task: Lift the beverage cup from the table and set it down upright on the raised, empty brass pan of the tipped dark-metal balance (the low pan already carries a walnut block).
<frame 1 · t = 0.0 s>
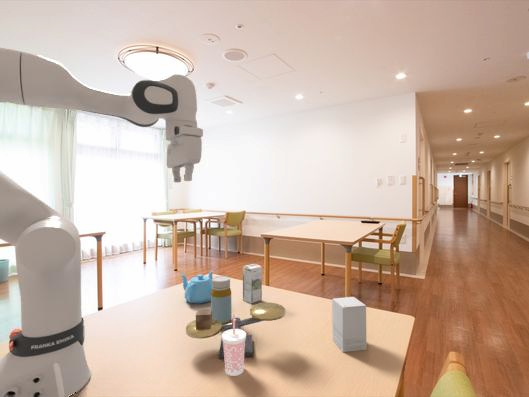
hand: (182, 181, 81), 48 cm above the table, fingers open, 8 cm apart
teapot: (202, 298, 119), on the table
walnut block: (204, 325, 79), point 7 cm above the table, touching balance
balance: (236, 348, 79), on the table
syrup box: (252, 300, 116), on the table
beverage cup: (234, 370, 70), on the table
bottle: (221, 322, 97), on the table
supplement box: (348, 345, 81), on the table
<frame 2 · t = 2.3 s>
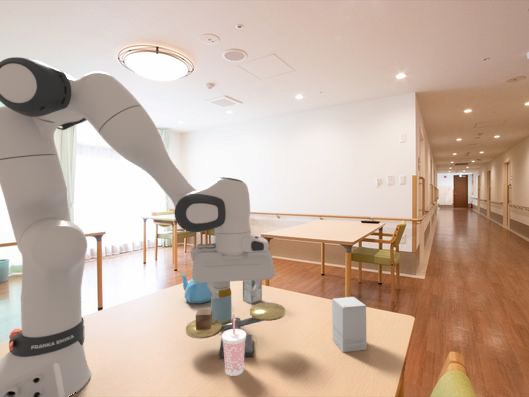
hand: (234, 297, 70), 18 cm above the table, fingers open, 8 cm apart
nothing on the table moved.
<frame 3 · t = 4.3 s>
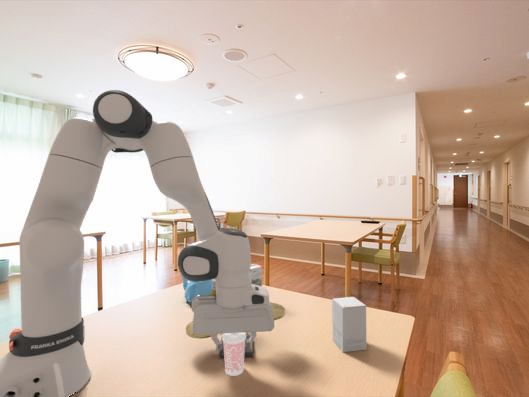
hand: (234, 348, 70), 5 cm above the table, fingers closed on beverage cup, 6 cm apart
beverage cup: (234, 370, 70), on the table, touching gripper
everything else where it was.
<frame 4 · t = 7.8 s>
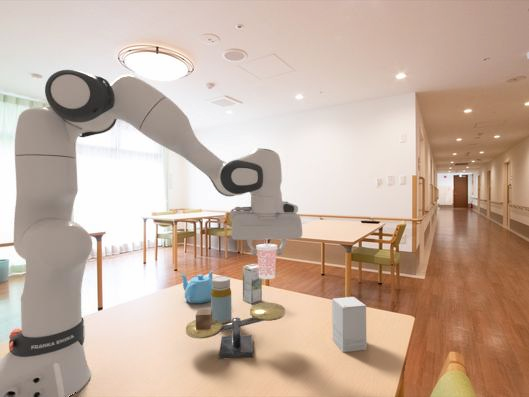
hand: (266, 254, 80), 27 cm above the table, fingers closed on beverage cup, 6 cm apart
beverage cup: (266, 277, 80), point 20 cm above the table, touching gripper
everything else where it was.
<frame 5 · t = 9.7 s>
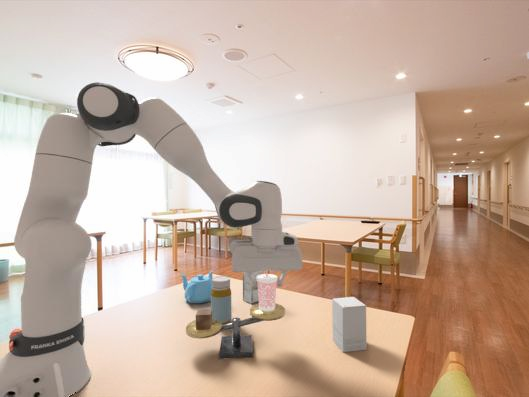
hand: (266, 285, 80), 18 cm above the table, fingers closed on beverage cup, 6 cm apart
beverage cup: (267, 308, 80), point 11 cm above the table, touching gripper
everything else where it was.
when the fingers open (18 cm above the table, at t = 10.2 s): beverage cup stays where it is, resting on balance.
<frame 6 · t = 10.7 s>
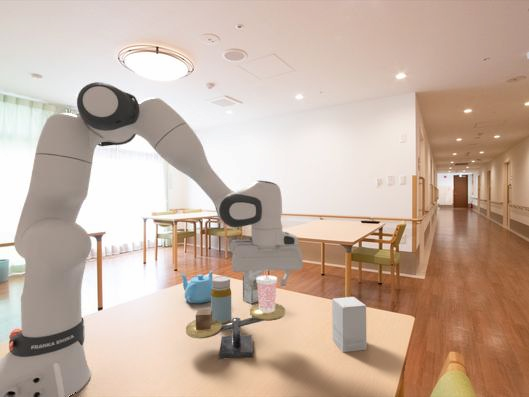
hand: (267, 285, 80), 18 cm above the table, fingers open, 8 cm apart
beverage cup: (267, 310, 80), point 11 cm above the table, touching balance
everything else where it was.
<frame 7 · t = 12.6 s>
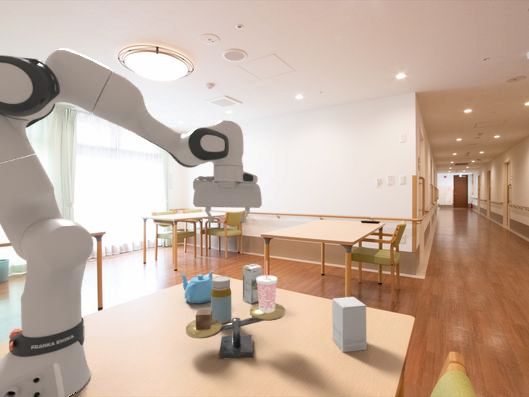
hand: (227, 222, 83), 36 cm above the table, fingers open, 8 cm apart
nothing on the table moved.
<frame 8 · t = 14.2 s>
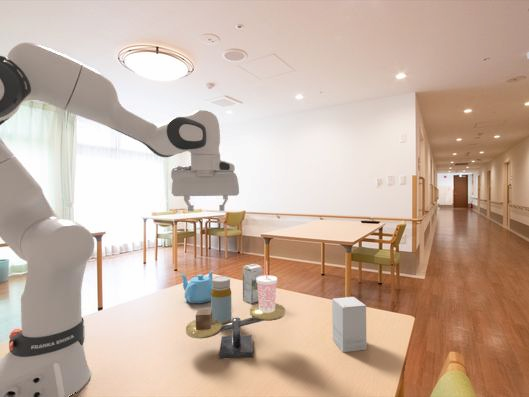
hand: (206, 211, 86), 39 cm above the table, fingers open, 8 cm apart
nothing on the table moved.
at the end: beverage cup inside the target area (0.1 cm from its centre), point 10.8 cm above the table; beverage cup tilted 0°; the gripper is holding nothing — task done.
